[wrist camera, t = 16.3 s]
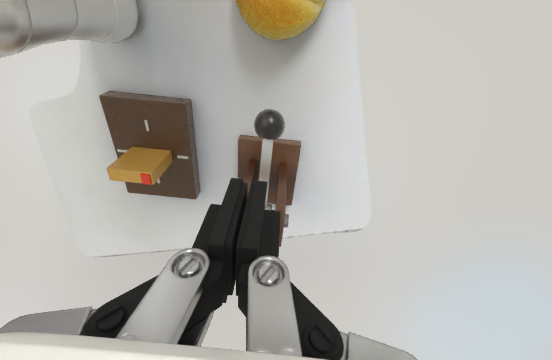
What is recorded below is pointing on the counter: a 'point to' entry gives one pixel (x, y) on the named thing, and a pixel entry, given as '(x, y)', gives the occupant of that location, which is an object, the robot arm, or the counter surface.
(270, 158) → the door lever
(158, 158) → the lock knob
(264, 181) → the robot arm
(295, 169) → the handle bracket
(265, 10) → the bread roll
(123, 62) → the counter surface
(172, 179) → the plate
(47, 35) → the plastic bottle
